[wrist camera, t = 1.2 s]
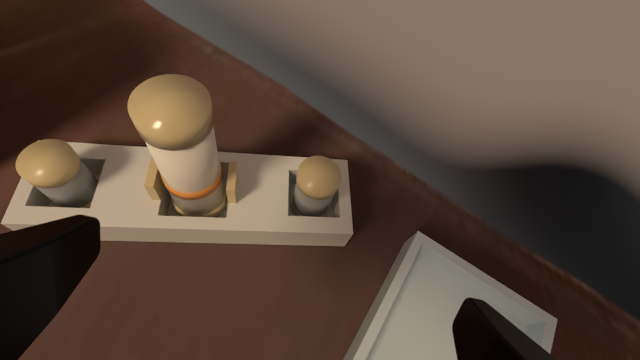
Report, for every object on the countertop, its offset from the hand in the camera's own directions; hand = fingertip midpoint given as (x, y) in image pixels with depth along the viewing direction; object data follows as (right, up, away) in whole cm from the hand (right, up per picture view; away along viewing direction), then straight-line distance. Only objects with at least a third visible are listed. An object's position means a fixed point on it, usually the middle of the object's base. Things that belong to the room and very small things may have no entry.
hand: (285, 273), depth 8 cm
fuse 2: (0, 0, +16) cm, 16 cm away
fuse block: (-7, +1, +16) cm, 17 cm away
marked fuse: (-7, +1, +15) cm, 17 cm away
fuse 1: (-15, +1, +14) cm, 20 cm away
